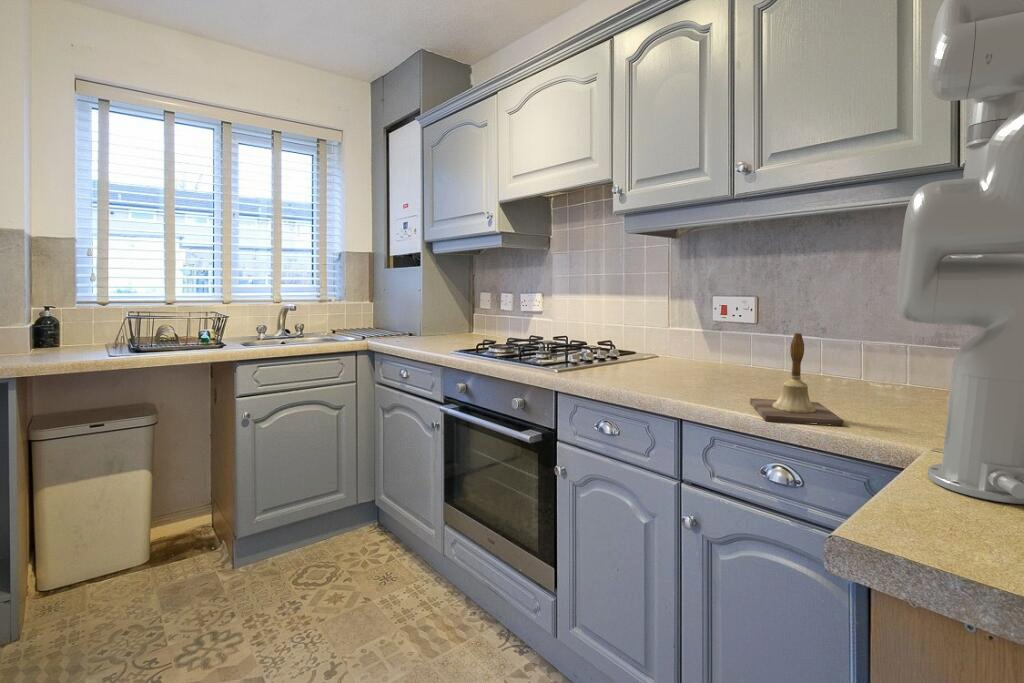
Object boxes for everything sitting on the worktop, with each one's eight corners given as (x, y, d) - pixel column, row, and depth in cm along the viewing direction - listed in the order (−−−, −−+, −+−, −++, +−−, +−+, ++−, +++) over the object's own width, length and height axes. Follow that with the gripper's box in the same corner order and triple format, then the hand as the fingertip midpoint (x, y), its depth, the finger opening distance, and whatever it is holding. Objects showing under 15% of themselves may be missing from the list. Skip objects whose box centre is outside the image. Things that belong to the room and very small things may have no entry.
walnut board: (842, 426, 106) (843, 420, 106) (765, 421, 110) (765, 415, 109) (817, 407, 122) (817, 402, 122) (750, 403, 125) (750, 398, 125)
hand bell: (806, 415, 110) (811, 336, 108) (764, 407, 116) (769, 332, 114) (823, 409, 115) (828, 333, 113) (782, 402, 121) (787, 330, 119)
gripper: (1056, 121, 86) (1043, 231, 88) (989, 146, 103) (979, 238, 105) (1000, 123, 88) (988, 231, 90) (943, 148, 105) (934, 239, 107)
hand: (983, 235), depth 98 cm, fingers open, 9 cm apart
